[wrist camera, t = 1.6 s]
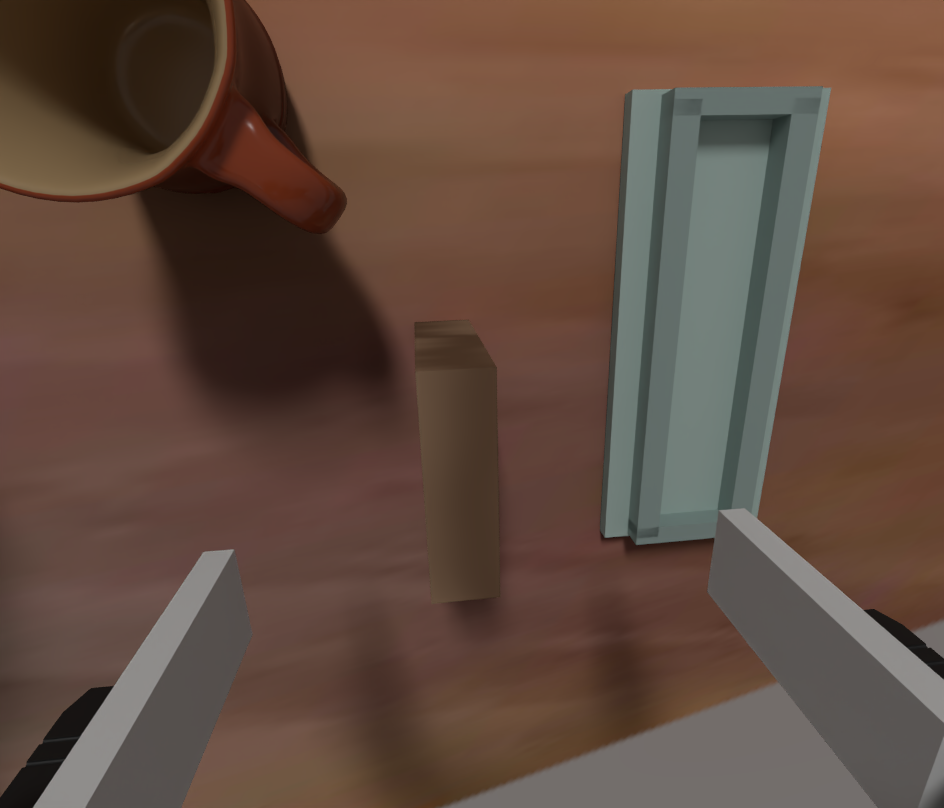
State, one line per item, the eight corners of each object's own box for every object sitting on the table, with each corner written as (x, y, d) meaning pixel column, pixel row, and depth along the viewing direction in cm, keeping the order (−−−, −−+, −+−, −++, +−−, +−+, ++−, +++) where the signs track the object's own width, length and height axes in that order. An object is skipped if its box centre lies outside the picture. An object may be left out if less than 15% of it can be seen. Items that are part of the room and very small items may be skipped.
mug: (42, 113, 20) (-287, 12, 11) (153, -96, 19) (-119, -433, 9) (304, 300, 24) (231, 350, 14) (418, 138, 22) (422, 70, 13)
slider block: (425, 488, 28) (431, 603, 19) (414, 322, 25) (415, 372, 16) (474, 485, 28) (500, 597, 20) (468, 319, 25) (496, 367, 17)
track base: (600, 529, 30) (612, 550, 28) (625, 94, 23) (644, 82, 21) (747, 516, 31) (769, 535, 29) (817, 92, 23) (853, 80, 21)
